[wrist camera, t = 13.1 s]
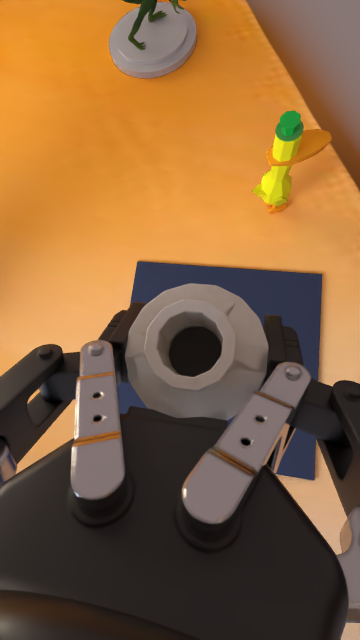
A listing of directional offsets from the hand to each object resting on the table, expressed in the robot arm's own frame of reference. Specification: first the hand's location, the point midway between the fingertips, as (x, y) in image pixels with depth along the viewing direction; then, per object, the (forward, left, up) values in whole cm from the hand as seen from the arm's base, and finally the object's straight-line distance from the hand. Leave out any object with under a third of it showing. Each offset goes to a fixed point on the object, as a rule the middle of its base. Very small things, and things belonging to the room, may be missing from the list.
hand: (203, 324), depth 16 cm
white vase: (0, -2, -5) cm, 5 cm away
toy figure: (+5, +18, -18) cm, 26 cm away
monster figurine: (-13, +42, -18) cm, 48 cm away
